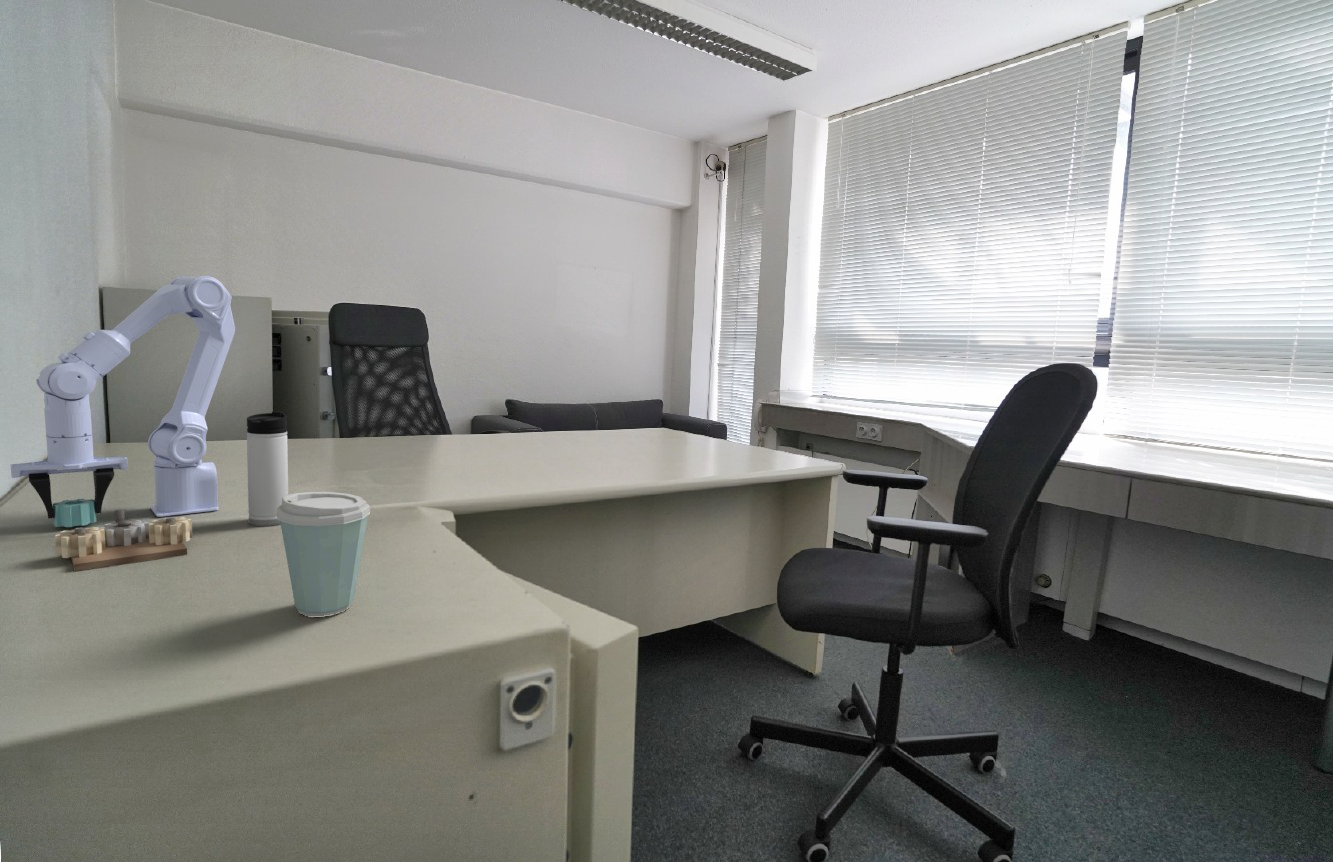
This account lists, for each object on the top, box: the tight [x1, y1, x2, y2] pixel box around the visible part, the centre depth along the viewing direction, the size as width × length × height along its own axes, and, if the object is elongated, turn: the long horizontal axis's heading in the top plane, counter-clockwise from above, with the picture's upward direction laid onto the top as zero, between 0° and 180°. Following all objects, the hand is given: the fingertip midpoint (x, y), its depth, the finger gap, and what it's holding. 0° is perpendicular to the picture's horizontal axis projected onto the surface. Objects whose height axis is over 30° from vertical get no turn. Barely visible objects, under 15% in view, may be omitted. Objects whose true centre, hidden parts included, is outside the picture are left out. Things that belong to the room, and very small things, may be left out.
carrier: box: [54, 508, 193, 572], centre depth 104 cm, size 16×18×4 cm
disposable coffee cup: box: [276, 491, 371, 617], centre depth 85 cm, size 11×11×15 cm
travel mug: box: [246, 411, 289, 527], centre depth 120 cm, size 6×7×20 cm
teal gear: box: [52, 498, 97, 528], centre depth 112 cm, size 5×5×4 cm
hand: (74, 514), depth 112 cm, fingers closed on teal gear, 5 cm apart
